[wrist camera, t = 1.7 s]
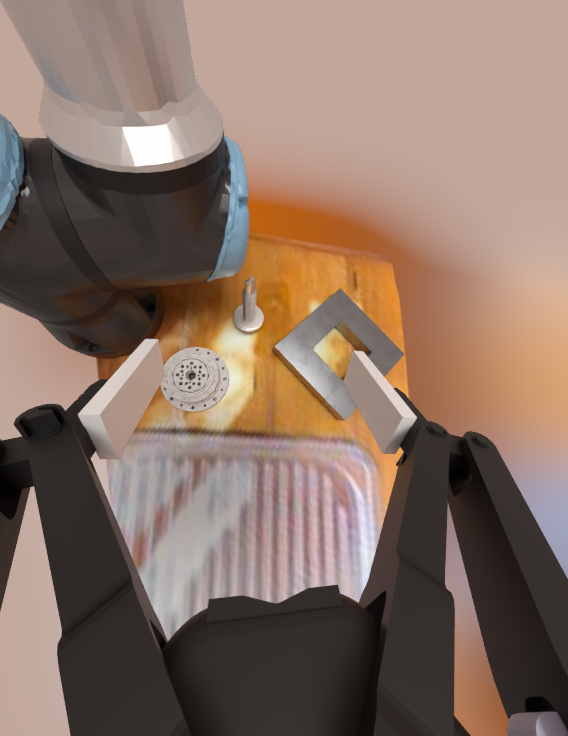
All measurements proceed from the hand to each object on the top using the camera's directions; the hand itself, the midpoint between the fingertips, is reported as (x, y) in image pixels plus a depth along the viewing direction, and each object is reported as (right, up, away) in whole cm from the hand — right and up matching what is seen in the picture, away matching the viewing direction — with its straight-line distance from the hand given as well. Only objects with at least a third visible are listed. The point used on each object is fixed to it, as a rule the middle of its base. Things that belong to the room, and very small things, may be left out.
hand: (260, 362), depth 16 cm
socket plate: (+11, +2, +25) cm, 27 cm away
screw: (-5, +7, +24) cm, 25 cm away
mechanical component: (-12, -2, +21) cm, 24 cm away
